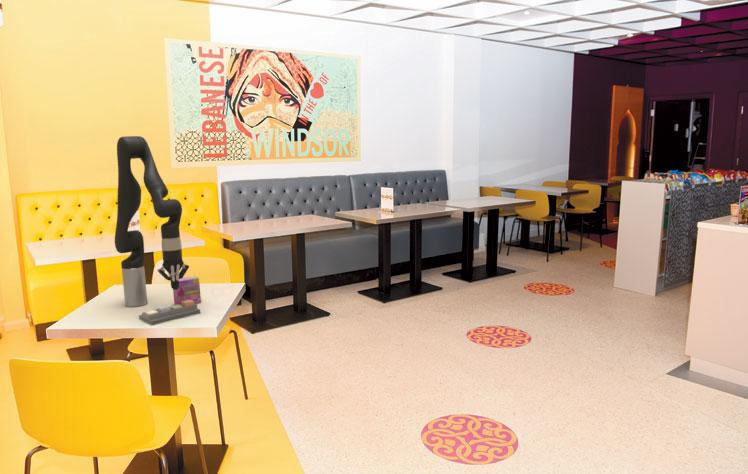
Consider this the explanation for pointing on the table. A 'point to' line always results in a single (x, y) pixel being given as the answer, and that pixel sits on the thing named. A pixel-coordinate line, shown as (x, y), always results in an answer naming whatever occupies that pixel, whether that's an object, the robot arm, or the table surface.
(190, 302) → the key terracotta
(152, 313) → the key cream
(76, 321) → the table surface
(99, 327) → the table surface
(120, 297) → the table surface
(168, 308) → the key blue
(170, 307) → the key sage
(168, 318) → the keypad
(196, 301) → the box
